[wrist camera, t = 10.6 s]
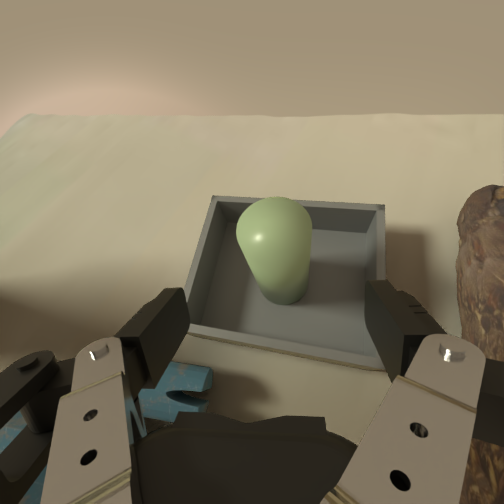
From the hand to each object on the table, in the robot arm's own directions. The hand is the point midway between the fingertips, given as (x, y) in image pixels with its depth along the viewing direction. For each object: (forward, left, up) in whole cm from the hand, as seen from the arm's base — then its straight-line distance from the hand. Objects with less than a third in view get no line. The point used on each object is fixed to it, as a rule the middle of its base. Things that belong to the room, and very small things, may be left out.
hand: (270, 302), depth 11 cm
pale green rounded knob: (-1, +6, -15) cm, 16 cm away
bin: (-1, +6, -16) cm, 17 cm away
